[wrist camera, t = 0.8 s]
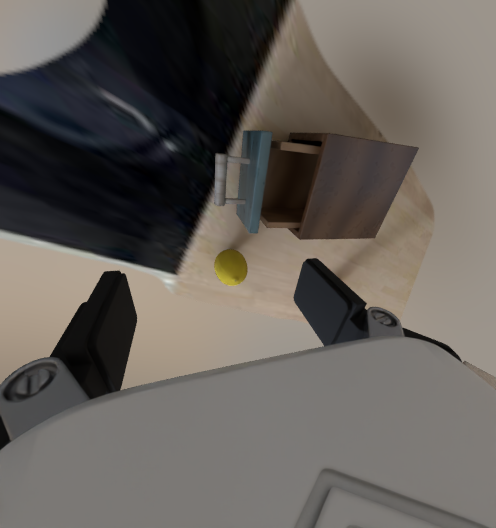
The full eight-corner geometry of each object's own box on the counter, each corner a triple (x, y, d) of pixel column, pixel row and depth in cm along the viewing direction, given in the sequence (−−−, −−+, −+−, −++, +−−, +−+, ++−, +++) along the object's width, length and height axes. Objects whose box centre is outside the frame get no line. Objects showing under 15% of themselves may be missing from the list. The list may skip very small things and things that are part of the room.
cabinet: (274, 216, 36) (299, 239, 28) (289, 132, 29) (328, 133, 21) (337, 217, 40) (374, 238, 32) (363, 143, 33) (419, 147, 25)
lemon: (220, 237, 35) (228, 261, 29) (246, 248, 38) (259, 272, 31) (206, 262, 37) (211, 289, 31) (232, 270, 40) (242, 297, 33)
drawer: (210, 213, 31) (217, 233, 25) (211, 125, 25) (221, 124, 19) (303, 215, 36) (328, 232, 30) (323, 142, 30) (359, 145, 24)
